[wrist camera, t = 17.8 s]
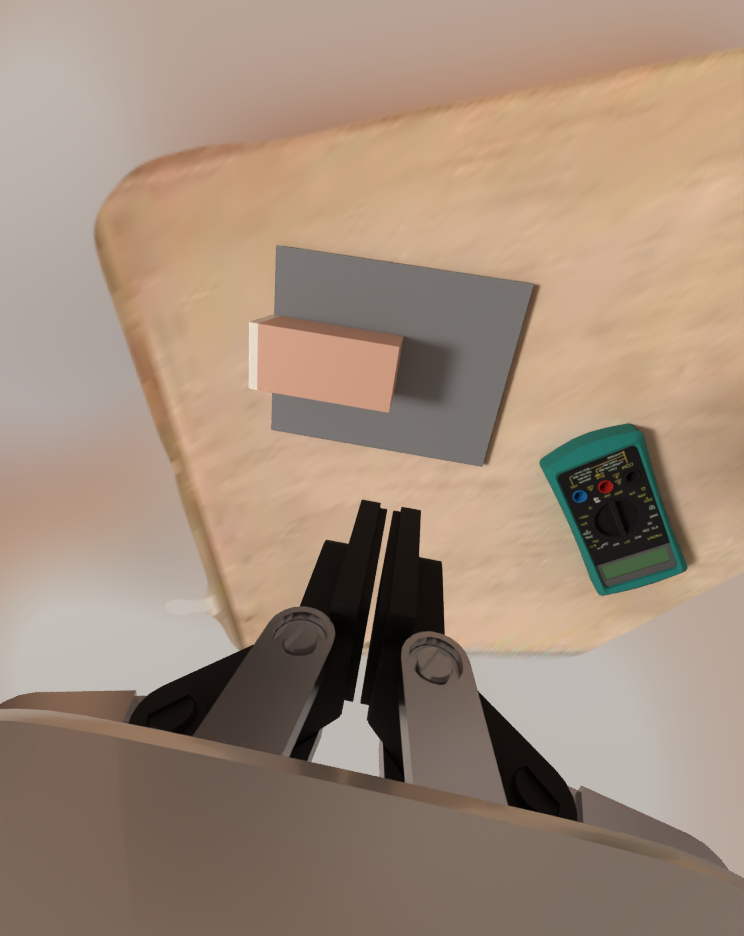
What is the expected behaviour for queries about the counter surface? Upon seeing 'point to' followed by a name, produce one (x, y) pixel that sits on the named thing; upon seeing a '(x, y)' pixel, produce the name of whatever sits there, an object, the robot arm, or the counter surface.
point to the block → (324, 362)
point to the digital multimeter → (614, 509)
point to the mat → (407, 350)
